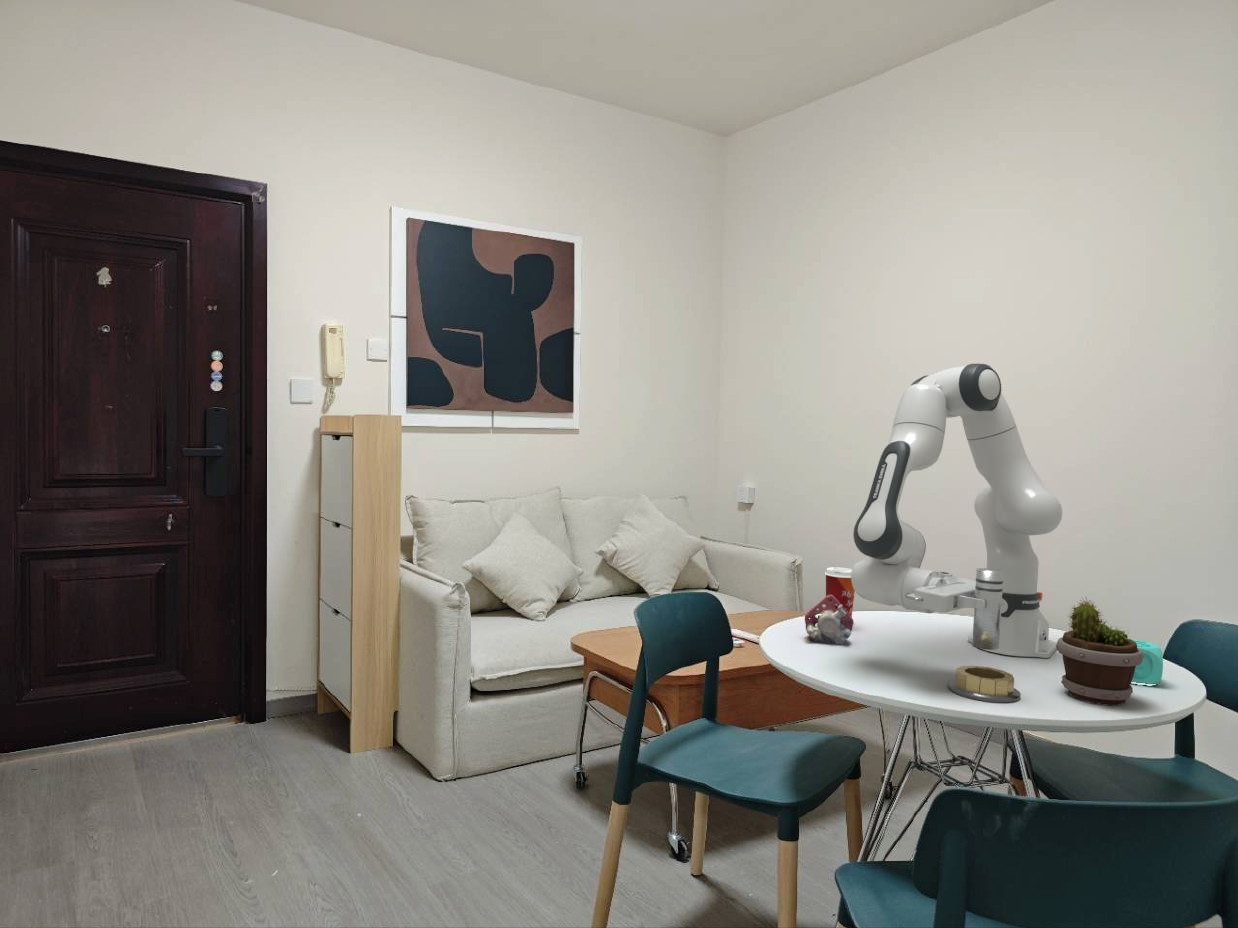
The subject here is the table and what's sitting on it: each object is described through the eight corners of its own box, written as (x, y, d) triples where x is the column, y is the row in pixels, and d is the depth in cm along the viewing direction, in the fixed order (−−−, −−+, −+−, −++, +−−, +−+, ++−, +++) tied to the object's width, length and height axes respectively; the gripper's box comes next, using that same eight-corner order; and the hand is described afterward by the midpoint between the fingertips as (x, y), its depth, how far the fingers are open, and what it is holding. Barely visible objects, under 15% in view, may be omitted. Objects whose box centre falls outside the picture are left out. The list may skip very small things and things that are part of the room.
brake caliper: (852, 626, 209) (855, 593, 202) (851, 662, 201) (854, 629, 194) (804, 622, 212) (806, 589, 204) (802, 657, 204) (803, 624, 196)
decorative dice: (1152, 678, 183) (1155, 641, 183) (1161, 688, 176) (1164, 650, 175) (1110, 673, 186) (1112, 637, 186) (1117, 683, 178) (1119, 645, 178)
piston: (978, 641, 170) (983, 567, 170) (1003, 647, 167) (1008, 571, 166) (967, 645, 167) (971, 569, 166) (992, 651, 163) (997, 573, 163)
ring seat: (966, 678, 176) (967, 660, 176) (1031, 694, 167) (1032, 675, 167) (936, 689, 167) (937, 670, 167) (1003, 707, 158) (1004, 687, 158)
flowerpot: (1108, 686, 175) (1115, 590, 174) (1157, 711, 160) (1165, 605, 159) (1038, 684, 175) (1045, 587, 174) (1080, 708, 159) (1088, 602, 158)
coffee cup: (849, 633, 213) (852, 573, 212) (817, 627, 217) (820, 569, 216) (858, 627, 220) (862, 569, 219) (827, 622, 224) (830, 565, 224)
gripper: (900, 580, 169) (969, 592, 159) (949, 571, 183) (1015, 581, 173) (898, 611, 169) (967, 625, 159) (947, 600, 183) (1013, 612, 173)
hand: (992, 602), depth 166 cm, fingers closed on piston, 5 cm apart
